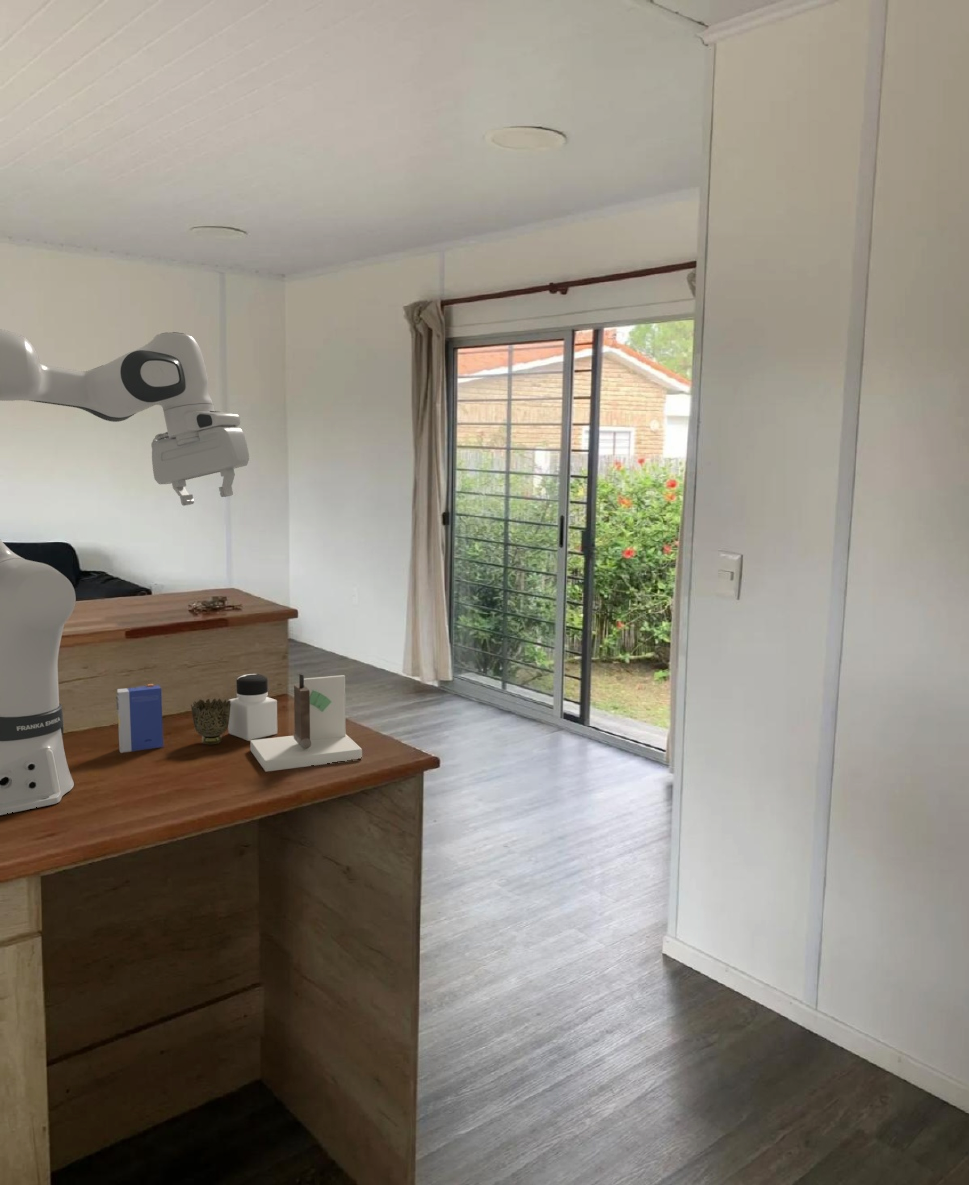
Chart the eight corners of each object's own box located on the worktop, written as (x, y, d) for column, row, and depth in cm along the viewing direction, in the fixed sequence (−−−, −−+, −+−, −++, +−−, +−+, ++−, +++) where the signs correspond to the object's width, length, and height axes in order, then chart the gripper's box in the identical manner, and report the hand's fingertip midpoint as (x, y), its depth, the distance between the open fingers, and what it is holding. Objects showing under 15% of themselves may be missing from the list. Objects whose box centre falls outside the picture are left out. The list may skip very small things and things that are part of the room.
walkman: (160, 743, 188) (158, 683, 186) (163, 747, 185) (161, 686, 184) (117, 748, 184) (115, 687, 182) (120, 753, 182) (117, 690, 180)
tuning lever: (300, 749, 177) (299, 678, 175) (293, 741, 182) (292, 671, 180) (311, 748, 178) (310, 677, 176) (304, 740, 183) (303, 670, 181)
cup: (225, 749, 185) (224, 708, 184) (187, 748, 185) (185, 707, 184) (236, 737, 192) (235, 698, 191) (199, 736, 192) (198, 697, 191)
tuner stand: (265, 771, 173) (264, 695, 170) (250, 750, 184) (249, 678, 182) (362, 759, 180) (361, 686, 178) (341, 739, 192) (341, 671, 190)
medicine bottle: (278, 734, 195) (277, 676, 193) (247, 741, 190) (246, 682, 188) (258, 726, 200) (256, 670, 198) (227, 733, 195) (226, 675, 193)
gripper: (137, 436, 176) (152, 511, 177) (222, 413, 167) (238, 492, 168) (162, 436, 182) (177, 508, 183) (246, 413, 173) (261, 490, 174)
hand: (207, 500), depth 175 cm, fingers open, 8 cm apart
